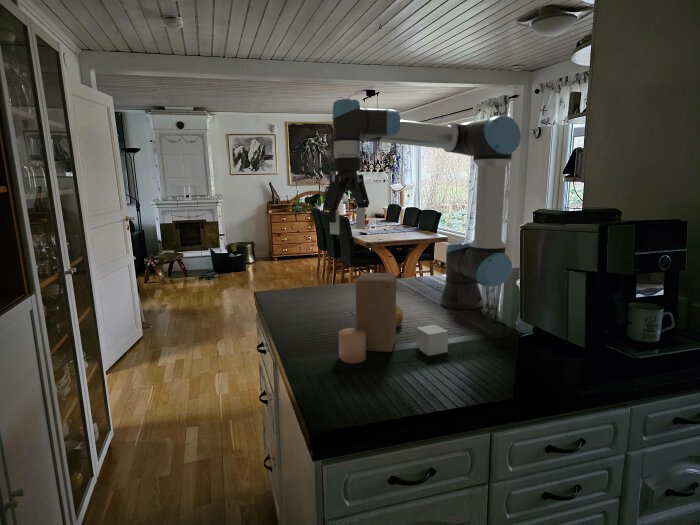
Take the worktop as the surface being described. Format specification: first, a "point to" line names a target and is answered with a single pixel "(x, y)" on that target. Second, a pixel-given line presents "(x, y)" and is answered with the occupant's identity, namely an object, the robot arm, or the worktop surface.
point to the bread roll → (398, 316)
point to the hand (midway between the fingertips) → (348, 231)
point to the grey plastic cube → (432, 339)
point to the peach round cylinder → (352, 345)
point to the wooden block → (377, 310)
